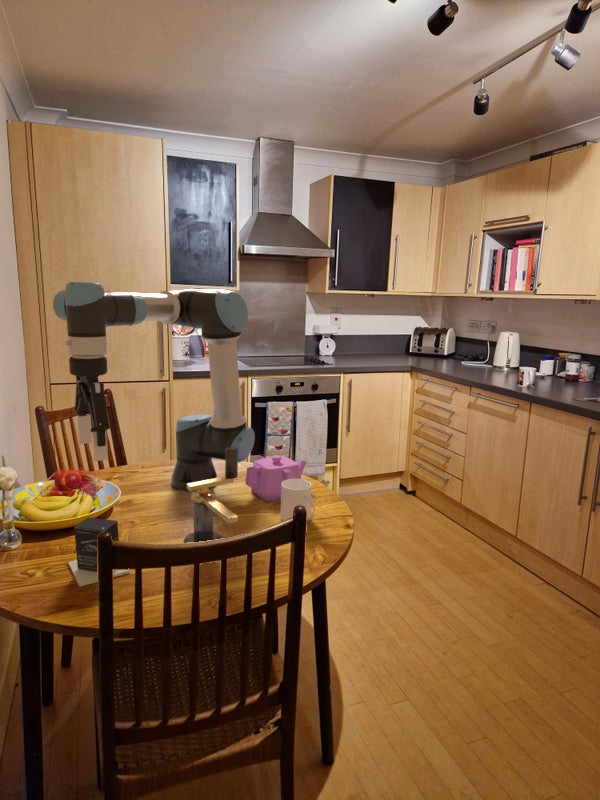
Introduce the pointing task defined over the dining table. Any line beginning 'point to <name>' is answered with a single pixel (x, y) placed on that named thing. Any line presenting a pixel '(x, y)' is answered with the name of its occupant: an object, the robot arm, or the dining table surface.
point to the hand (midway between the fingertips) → (92, 451)
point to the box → (91, 540)
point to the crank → (209, 496)
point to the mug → (296, 497)
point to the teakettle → (272, 475)
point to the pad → (89, 574)
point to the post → (202, 524)
